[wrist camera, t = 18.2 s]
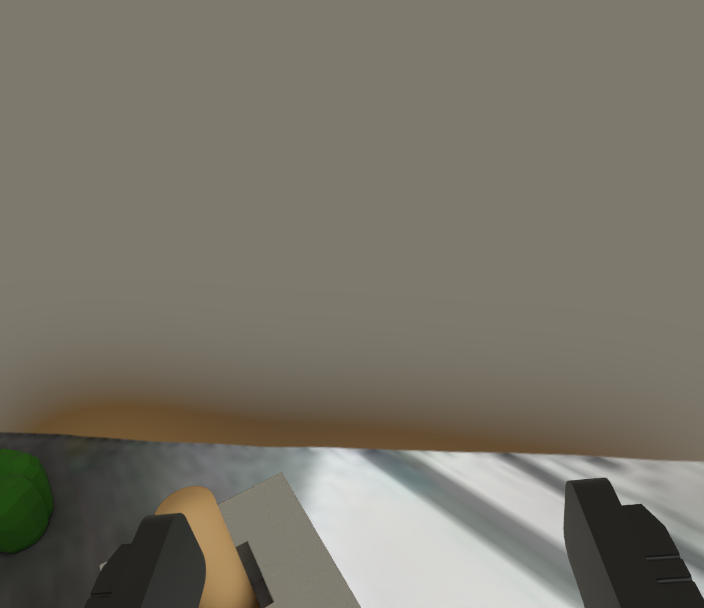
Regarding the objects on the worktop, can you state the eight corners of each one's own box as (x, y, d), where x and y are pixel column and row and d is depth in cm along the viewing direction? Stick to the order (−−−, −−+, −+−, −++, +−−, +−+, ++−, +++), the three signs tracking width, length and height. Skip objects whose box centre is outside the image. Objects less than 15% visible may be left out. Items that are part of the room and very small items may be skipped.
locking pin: (255, 595, 45) (205, 476, 38) (273, 637, 42) (222, 516, 35) (209, 623, 44) (148, 505, 37) (223, 668, 41) (160, 548, 34)
